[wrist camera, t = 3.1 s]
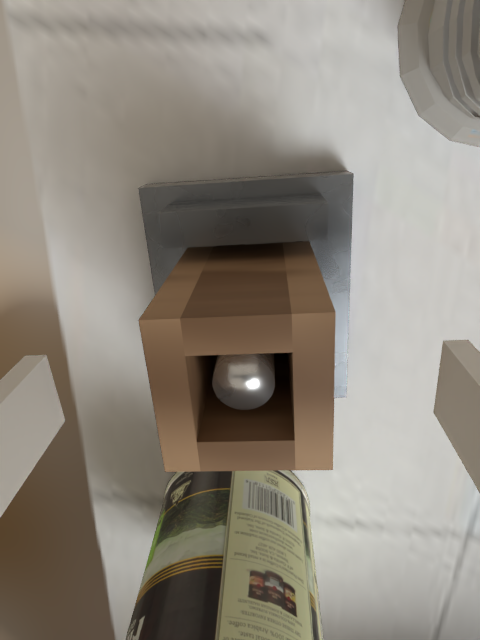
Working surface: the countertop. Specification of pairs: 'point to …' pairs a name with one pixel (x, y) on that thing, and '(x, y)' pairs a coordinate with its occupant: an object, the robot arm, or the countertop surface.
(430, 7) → the french press
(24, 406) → the robot arm
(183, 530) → the coffee can
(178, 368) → the sleeve
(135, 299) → the countertop surface
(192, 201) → the peg stand
